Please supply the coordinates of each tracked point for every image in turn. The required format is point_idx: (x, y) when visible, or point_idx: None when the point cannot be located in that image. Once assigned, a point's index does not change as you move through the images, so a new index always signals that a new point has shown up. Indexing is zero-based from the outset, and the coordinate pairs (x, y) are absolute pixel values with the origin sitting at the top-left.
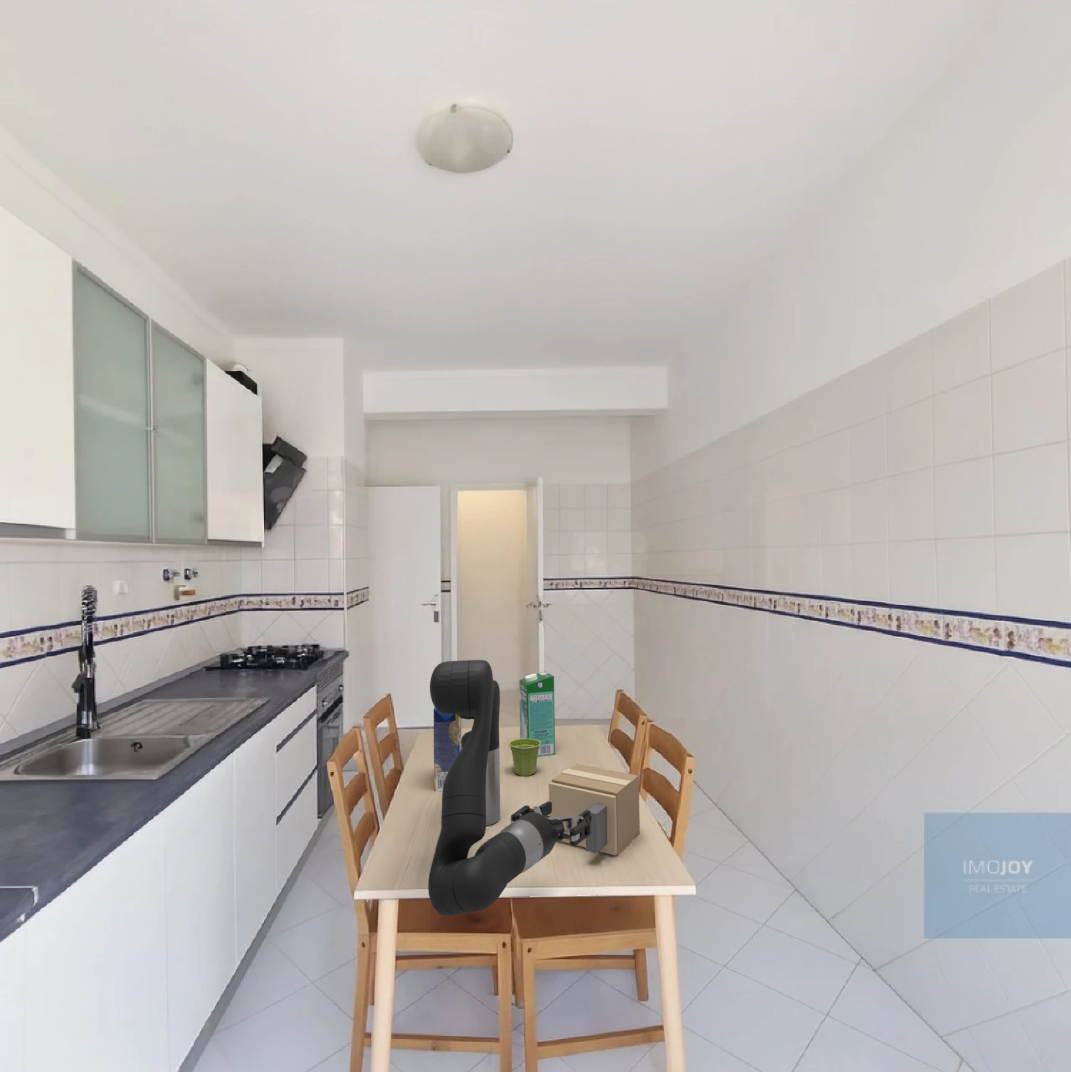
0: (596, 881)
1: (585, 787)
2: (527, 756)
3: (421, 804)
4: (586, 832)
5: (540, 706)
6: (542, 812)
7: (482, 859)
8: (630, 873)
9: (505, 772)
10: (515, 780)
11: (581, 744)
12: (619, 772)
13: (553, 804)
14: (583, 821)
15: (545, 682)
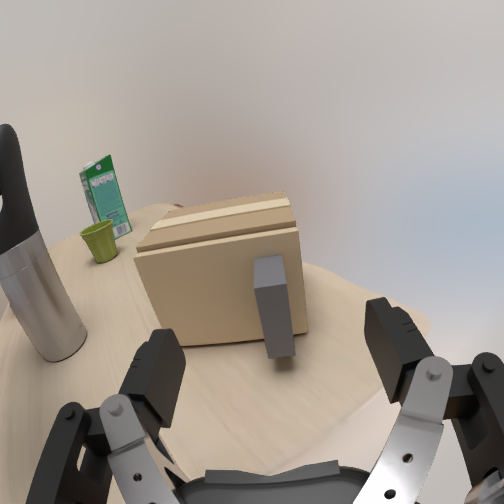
0: (331, 411)
1: (216, 235)
2: (102, 239)
3: (7, 340)
4: (477, 411)
5: (104, 188)
6: (157, 407)
7: None
8: (363, 353)
9: (87, 265)
10: (98, 270)
11: (153, 215)
12: (248, 196)
13: (156, 293)
14: (486, 385)
15: (103, 163)
